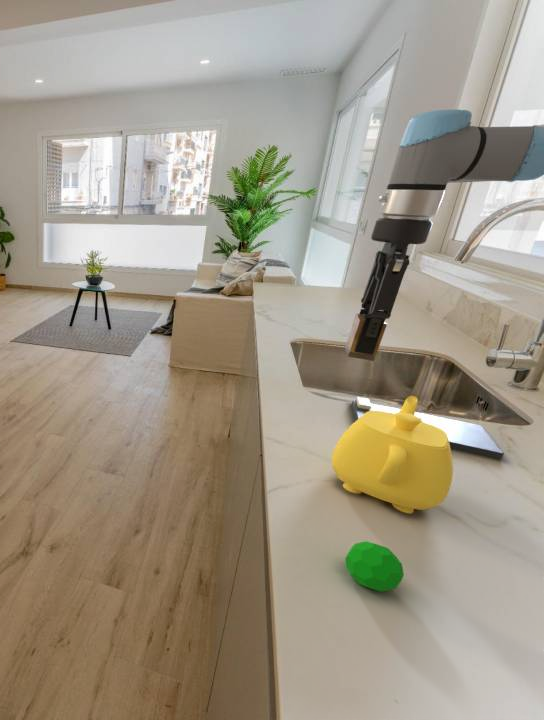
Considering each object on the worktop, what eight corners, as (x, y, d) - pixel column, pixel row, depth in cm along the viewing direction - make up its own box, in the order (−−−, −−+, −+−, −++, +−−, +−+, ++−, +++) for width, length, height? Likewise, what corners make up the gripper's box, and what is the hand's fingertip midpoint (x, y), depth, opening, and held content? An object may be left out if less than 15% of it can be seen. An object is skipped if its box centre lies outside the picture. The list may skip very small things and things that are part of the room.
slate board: (477, 432, 80) (480, 425, 79) (500, 461, 71) (504, 453, 70) (350, 405, 89) (352, 399, 88) (356, 428, 80) (359, 421, 79)
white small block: (431, 422, 80) (433, 419, 79) (437, 432, 76) (439, 428, 76) (418, 420, 81) (419, 416, 80) (423, 429, 77) (424, 425, 77)
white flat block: (367, 402, 87) (368, 398, 87) (370, 410, 84) (371, 406, 84) (355, 400, 88) (357, 396, 88) (358, 407, 85) (359, 404, 85)
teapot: (439, 476, 67) (472, 406, 62) (436, 547, 53) (478, 464, 48) (339, 443, 75) (361, 379, 70) (313, 498, 61) (339, 422, 56)
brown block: (369, 351, 82) (381, 316, 79) (374, 361, 77) (387, 324, 74) (344, 347, 84) (355, 313, 81) (347, 356, 79) (359, 320, 76)
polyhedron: (333, 560, 50) (345, 529, 49) (378, 567, 50) (393, 536, 48) (353, 596, 46) (367, 563, 44) (404, 605, 45) (420, 572, 43)
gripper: (369, 215, 81) (333, 331, 89) (387, 218, 65) (342, 358, 74) (419, 217, 77) (377, 337, 86) (451, 221, 62) (395, 367, 71)
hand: (361, 347), depth 80 cm, fingers closed on brown block, 6 cm apart
